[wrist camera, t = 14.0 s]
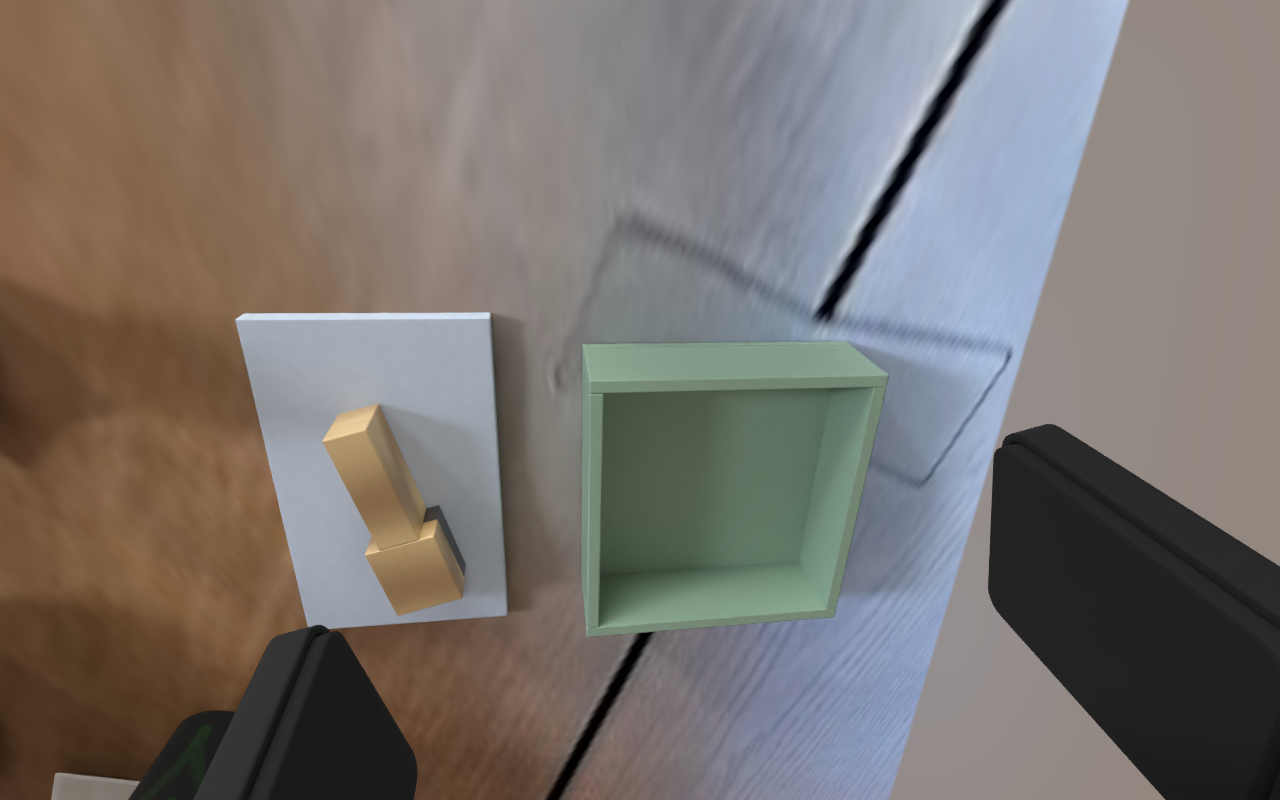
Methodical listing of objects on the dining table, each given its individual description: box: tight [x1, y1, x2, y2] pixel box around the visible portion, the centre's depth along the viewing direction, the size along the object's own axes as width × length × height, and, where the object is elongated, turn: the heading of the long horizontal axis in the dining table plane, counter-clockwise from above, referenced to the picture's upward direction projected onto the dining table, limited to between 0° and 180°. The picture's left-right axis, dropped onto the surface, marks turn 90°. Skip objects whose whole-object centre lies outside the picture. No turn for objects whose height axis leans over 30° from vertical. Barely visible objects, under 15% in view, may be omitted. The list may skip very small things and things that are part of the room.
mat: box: [236, 313, 508, 629], centre depth 36 cm, size 20×12×1 cm, turn 178°
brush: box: [322, 404, 466, 616], centre depth 35 cm, size 12×4×3 cm, turn 13°
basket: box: [581, 341, 888, 637], centre depth 37 cm, size 16×15×5 cm
